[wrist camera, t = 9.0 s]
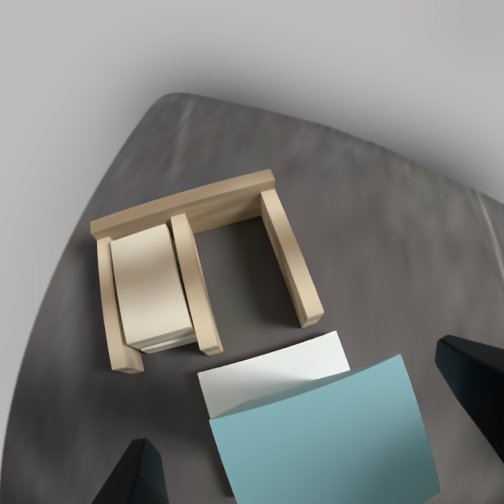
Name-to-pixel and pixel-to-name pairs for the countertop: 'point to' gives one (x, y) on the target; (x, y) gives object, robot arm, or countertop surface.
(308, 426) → the teal rectangular block
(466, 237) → the countertop surface
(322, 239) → the countertop surface
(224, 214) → the oak rack
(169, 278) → the offcut top
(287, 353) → the white pad
